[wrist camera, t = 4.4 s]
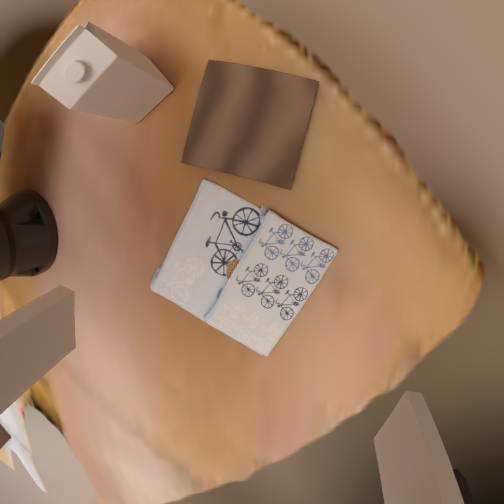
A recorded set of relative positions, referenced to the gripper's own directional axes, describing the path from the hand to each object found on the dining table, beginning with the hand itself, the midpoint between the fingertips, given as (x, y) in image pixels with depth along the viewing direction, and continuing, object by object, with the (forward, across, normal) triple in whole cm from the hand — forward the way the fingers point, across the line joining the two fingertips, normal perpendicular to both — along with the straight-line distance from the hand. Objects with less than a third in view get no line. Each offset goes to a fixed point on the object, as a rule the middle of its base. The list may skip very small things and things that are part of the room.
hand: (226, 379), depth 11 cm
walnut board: (+31, -7, +12) cm, 34 cm away
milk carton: (+31, -23, +14) cm, 41 cm away
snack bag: (+31, -4, -7) cm, 33 cm away
